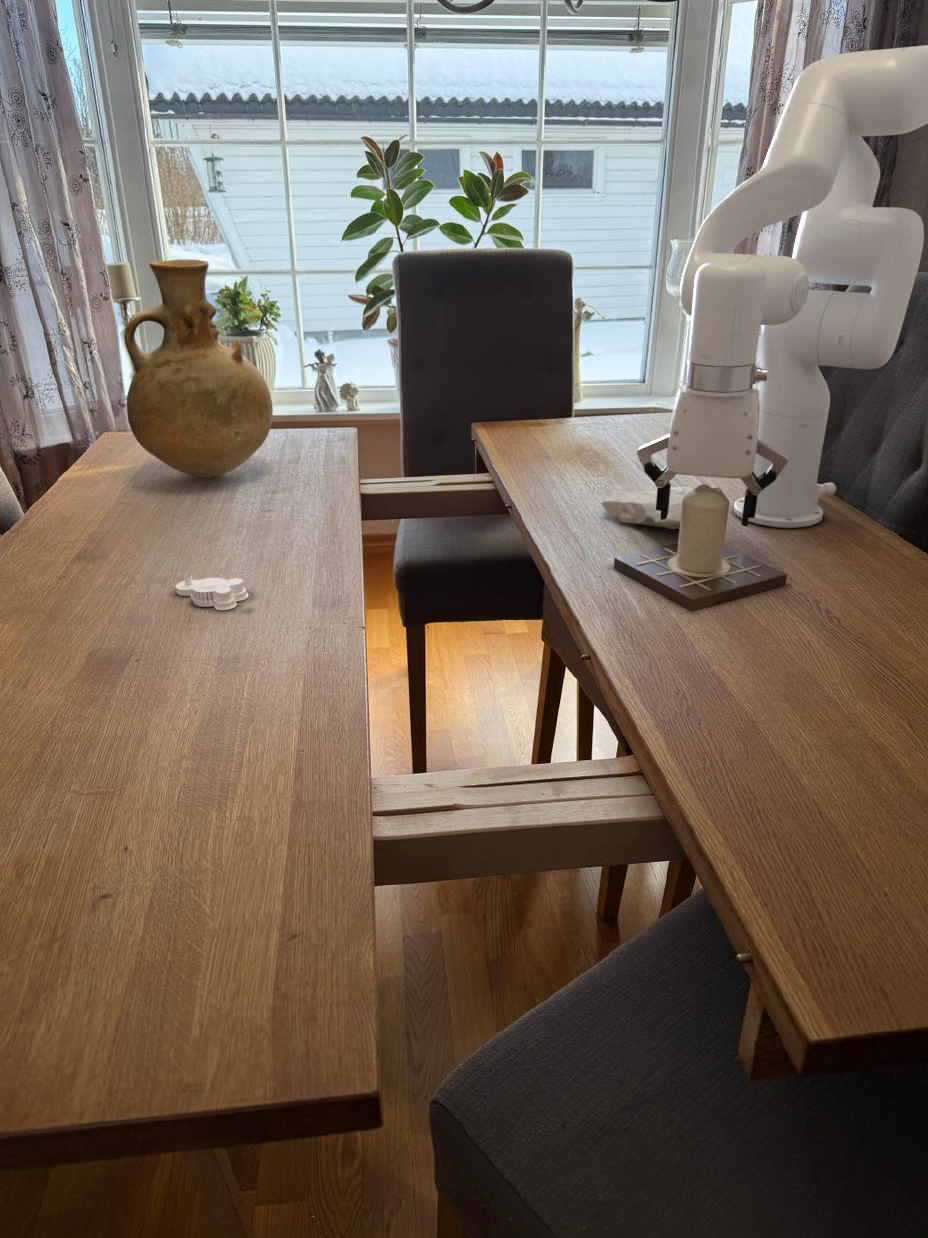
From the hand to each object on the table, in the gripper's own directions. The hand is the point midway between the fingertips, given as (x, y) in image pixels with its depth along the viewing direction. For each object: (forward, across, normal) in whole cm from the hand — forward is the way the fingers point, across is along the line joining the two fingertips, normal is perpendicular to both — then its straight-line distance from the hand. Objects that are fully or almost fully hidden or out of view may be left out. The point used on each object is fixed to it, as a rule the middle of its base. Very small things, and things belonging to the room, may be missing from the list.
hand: (704, 519), depth 109 cm
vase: (+8, +85, -24) cm, 89 cm away
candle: (+6, 0, 0) cm, 6 cm away
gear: (+8, +56, +22) cm, 61 cm away
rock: (+8, +8, -19) cm, 22 cm away
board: (+8, 0, 0) cm, 8 cm away
